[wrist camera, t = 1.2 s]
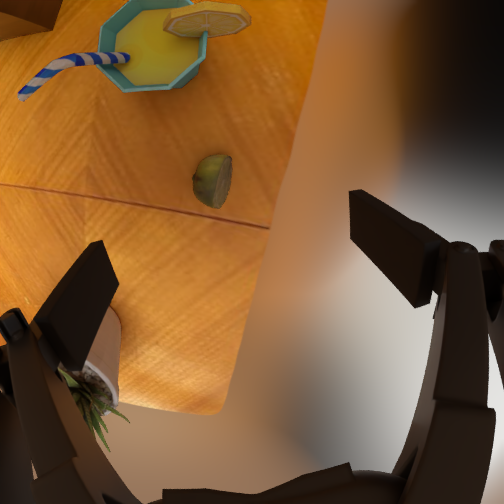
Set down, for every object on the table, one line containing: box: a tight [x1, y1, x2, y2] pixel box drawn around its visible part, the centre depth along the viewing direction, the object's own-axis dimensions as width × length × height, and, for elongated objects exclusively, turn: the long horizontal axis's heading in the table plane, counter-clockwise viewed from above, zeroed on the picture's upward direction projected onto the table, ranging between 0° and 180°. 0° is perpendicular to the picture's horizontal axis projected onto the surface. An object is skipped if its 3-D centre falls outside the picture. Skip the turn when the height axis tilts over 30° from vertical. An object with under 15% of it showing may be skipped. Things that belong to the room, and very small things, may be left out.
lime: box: [192, 154, 232, 209], centre depth 26 cm, size 4×5×5 cm
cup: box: [18, 0, 251, 101], centre depth 16 cm, size 14×8×15 cm, turn 109°
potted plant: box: [58, 306, 130, 452], centre depth 26 cm, size 13×14×20 cm
